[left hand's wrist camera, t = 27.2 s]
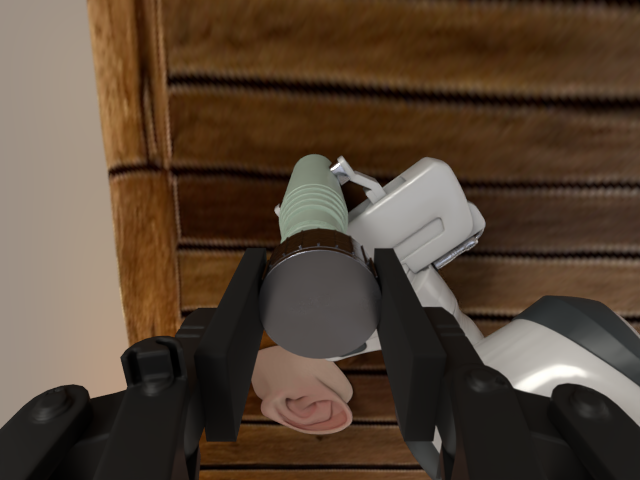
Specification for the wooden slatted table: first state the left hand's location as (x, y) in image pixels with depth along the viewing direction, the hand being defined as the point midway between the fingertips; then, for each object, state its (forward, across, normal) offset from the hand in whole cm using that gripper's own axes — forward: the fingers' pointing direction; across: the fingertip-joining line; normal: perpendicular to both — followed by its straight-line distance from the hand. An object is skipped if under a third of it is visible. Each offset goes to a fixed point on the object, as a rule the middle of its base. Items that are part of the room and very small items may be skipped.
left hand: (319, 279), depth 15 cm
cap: (-2, 0, 0) cm, 2 cm away
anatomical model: (+23, -3, -27) cm, 36 cm away
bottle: (+24, -1, 0) cm, 24 cm away
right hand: (+17, -1, 0) cm, 17 cm away
